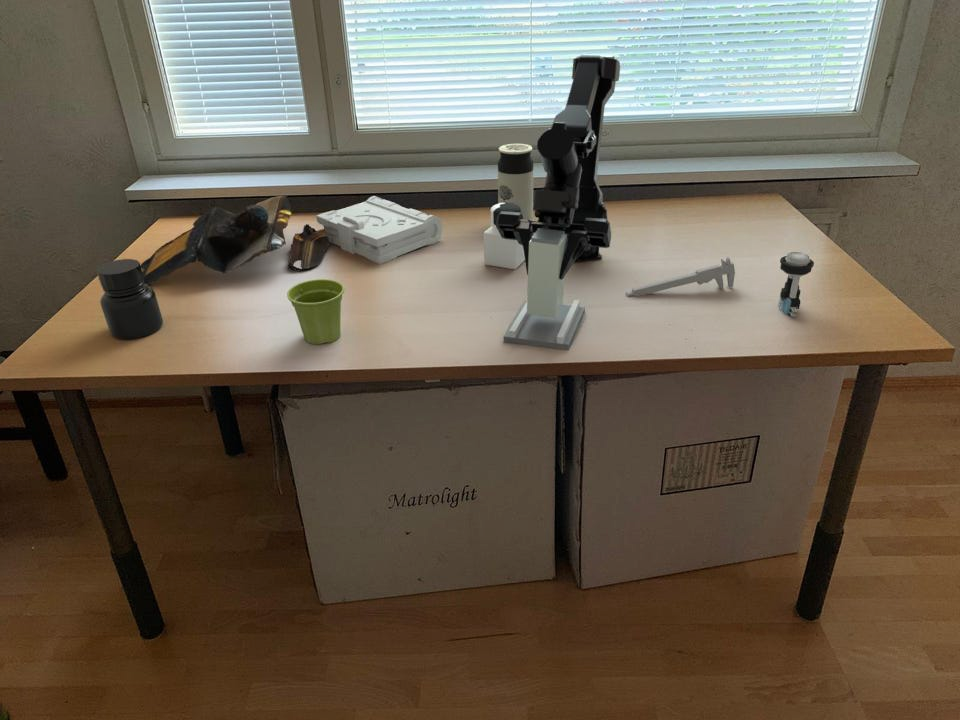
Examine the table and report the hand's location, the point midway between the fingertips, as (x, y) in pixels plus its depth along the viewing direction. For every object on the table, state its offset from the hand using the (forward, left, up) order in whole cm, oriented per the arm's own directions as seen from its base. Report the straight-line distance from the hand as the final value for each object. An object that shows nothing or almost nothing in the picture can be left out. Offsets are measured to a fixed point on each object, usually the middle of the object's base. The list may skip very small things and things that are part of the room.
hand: (544, 277), depth 117 cm
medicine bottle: (-2, -31, -10) cm, 33 cm away
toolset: (+53, -52, -10) cm, 75 cm away
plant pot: (+37, -9, -10) cm, 39 cm away
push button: (-43, +6, -10) cm, 45 cm away
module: (-1, -1, -7) cm, 7 cm away
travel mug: (-10, -51, -10) cm, 53 cm away
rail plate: (-1, -1, -10) cm, 10 cm away
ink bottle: (+69, -22, -10) cm, 73 cm away
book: (+23, -54, -10) cm, 60 cm away
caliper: (-29, -7, -10) cm, 32 cm away
